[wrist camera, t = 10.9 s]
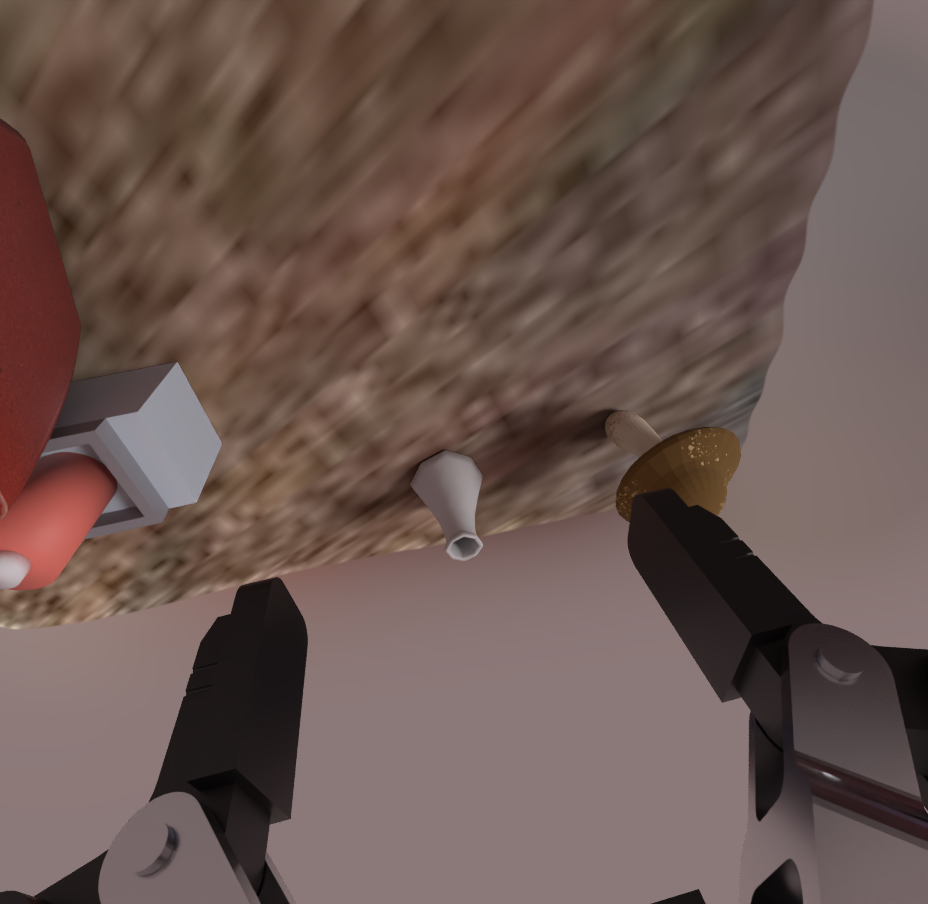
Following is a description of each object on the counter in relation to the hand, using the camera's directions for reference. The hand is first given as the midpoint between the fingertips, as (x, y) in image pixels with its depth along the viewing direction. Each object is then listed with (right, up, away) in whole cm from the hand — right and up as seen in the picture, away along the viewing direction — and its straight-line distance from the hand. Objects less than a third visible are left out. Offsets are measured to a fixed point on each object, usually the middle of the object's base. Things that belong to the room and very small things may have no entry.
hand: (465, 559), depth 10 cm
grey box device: (-28, +5, +27) cm, 39 cm away
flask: (-2, 0, +37) cm, 38 cm away
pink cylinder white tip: (-27, +1, +21) cm, 34 cm away
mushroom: (+16, +6, +37) cm, 41 cm away
